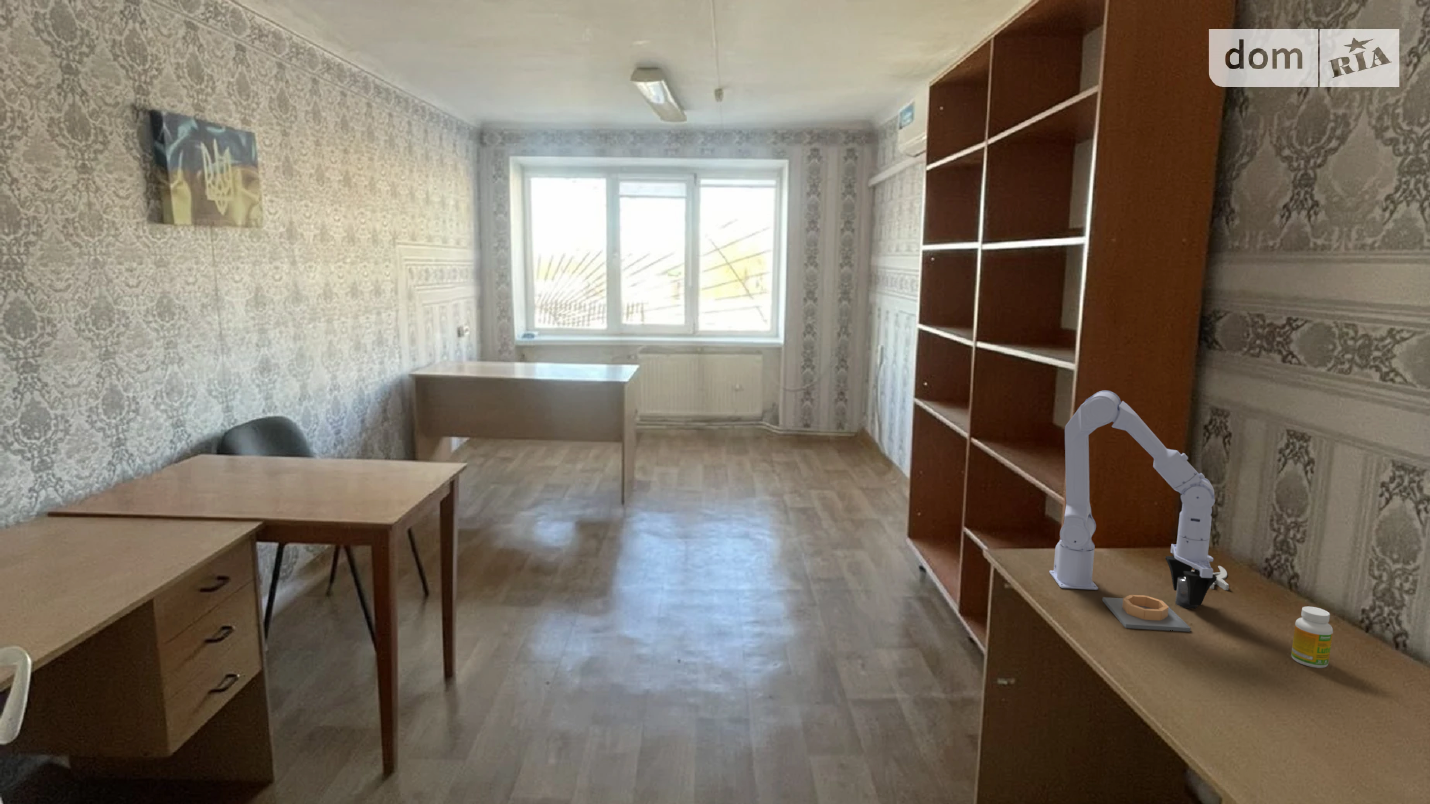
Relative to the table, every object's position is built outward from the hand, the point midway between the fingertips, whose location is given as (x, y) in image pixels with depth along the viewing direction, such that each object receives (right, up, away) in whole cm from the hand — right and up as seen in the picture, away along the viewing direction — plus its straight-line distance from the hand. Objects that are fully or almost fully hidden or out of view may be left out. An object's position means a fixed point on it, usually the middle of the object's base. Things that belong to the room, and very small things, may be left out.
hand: (1187, 597), depth 163 cm
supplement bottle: (+8, -6, -24) cm, 26 cm away
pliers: (+14, 0, +15) cm, 21 cm away
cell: (0, -2, 0) cm, 2 cm away
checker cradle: (-12, -3, -5) cm, 13 cm away
